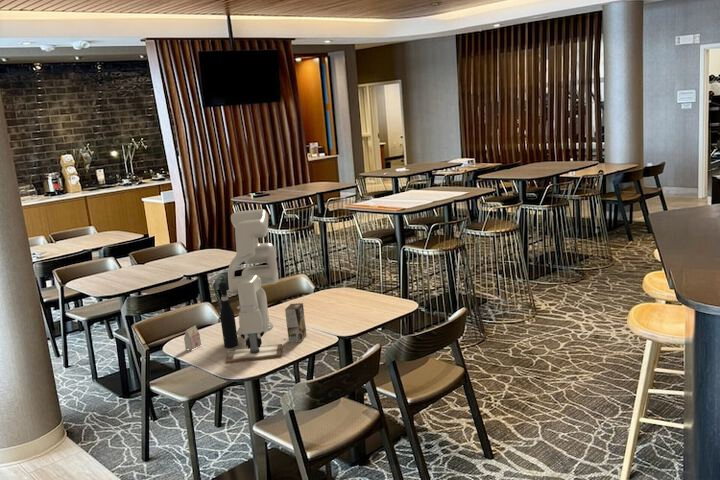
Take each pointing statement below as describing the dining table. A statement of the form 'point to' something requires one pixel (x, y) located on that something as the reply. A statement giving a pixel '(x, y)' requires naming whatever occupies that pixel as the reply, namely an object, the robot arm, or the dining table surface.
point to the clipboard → (245, 354)
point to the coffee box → (295, 322)
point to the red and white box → (192, 338)
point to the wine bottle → (227, 319)
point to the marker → (253, 343)
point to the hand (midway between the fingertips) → (254, 346)
